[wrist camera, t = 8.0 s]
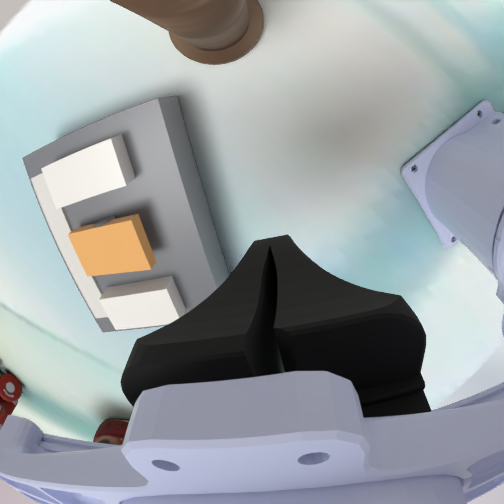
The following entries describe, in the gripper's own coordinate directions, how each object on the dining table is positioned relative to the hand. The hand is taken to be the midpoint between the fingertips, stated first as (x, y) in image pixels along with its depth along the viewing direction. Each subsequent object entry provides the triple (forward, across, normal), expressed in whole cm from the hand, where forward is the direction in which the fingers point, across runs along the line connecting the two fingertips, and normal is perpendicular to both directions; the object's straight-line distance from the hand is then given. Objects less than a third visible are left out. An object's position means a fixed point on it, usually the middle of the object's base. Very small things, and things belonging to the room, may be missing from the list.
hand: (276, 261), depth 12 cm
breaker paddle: (+5, +9, 0) cm, 11 cm away
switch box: (+10, +9, 0) cm, 14 cm away
